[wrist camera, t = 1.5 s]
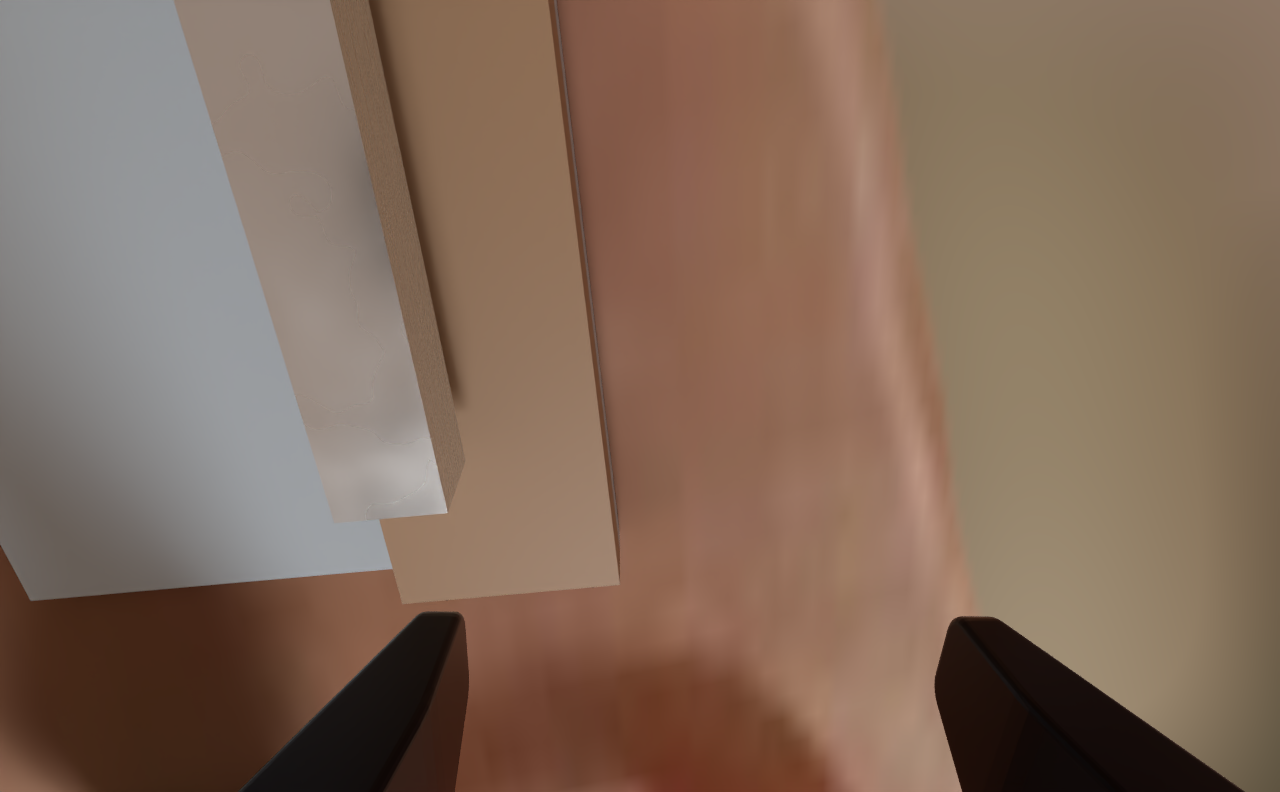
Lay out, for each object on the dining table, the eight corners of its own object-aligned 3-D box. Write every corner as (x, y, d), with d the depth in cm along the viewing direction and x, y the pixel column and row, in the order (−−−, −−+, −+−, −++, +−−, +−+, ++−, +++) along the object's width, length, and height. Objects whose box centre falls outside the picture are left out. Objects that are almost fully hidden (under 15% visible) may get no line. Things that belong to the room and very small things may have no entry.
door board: (49, 581, 22) (-120, 749, 17) (-435, -357, 13) (-1079, -589, 8) (619, 531, 22) (621, 684, 17) (502, -453, 13) (432, -750, 8)
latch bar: (111, -311, 11) (-15, -395, 9) (333, -333, 11) (262, -423, 9) (341, 472, 17) (298, 540, 15) (488, 458, 17) (469, 525, 15)
